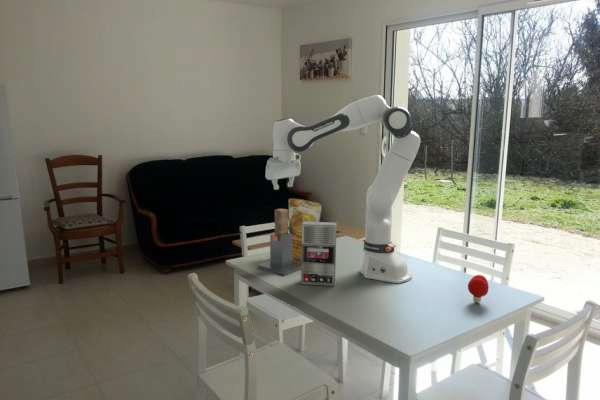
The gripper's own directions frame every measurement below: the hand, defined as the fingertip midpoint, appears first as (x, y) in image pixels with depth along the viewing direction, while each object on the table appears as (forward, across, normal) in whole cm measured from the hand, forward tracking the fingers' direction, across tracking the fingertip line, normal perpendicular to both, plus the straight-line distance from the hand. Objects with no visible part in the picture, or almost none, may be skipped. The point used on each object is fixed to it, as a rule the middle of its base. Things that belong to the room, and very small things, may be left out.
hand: (283, 188), depth 202 cm
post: (+29, -2, 0) cm, 29 cm away
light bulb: (+37, +13, -82) cm, 90 cm away
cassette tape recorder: (+36, -7, -24) cm, 44 cm away
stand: (+36, -2, 0) cm, 36 cm away
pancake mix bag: (+36, +16, +2) cm, 40 cm away
